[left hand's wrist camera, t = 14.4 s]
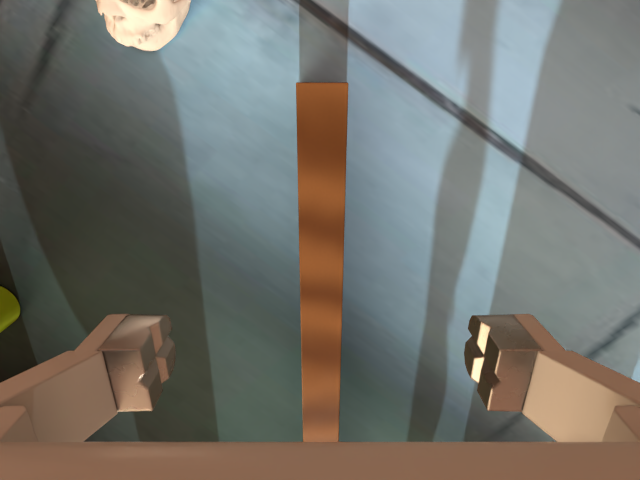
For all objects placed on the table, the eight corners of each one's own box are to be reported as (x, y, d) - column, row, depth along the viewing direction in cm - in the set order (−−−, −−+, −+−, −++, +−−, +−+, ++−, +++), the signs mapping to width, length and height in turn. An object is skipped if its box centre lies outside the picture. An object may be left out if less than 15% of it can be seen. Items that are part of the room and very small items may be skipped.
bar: (299, 82, 38) (296, 82, 33) (344, 82, 38) (348, 82, 33) (307, 548, 65) (306, 590, 60) (333, 548, 65) (334, 590, 60)
